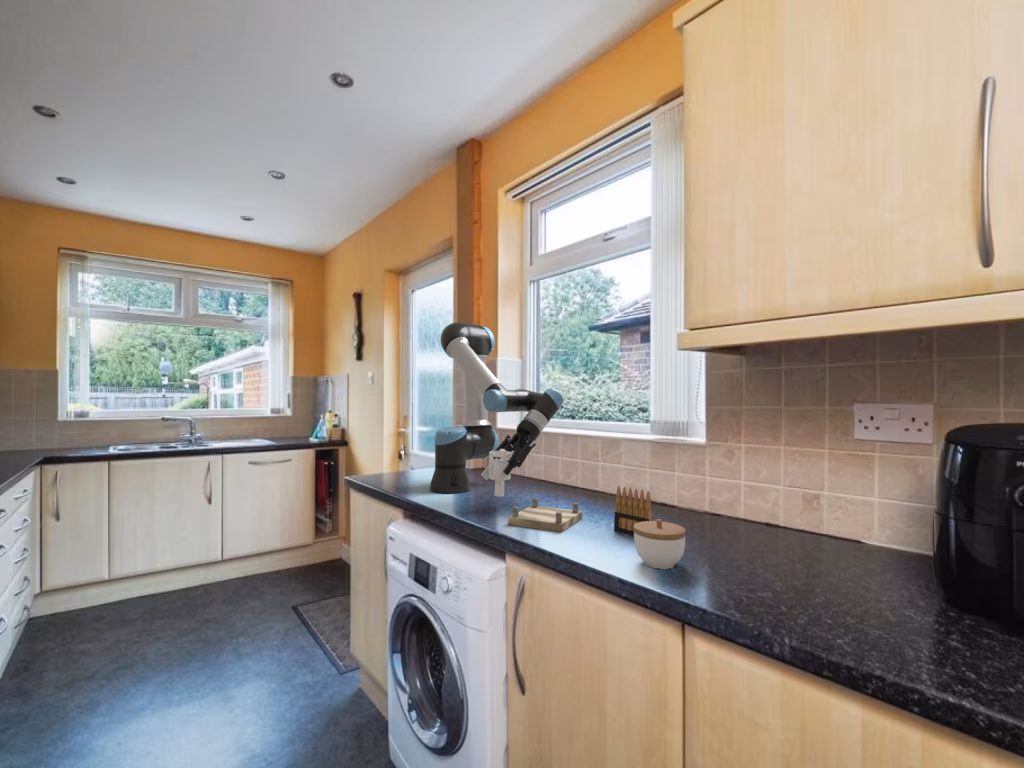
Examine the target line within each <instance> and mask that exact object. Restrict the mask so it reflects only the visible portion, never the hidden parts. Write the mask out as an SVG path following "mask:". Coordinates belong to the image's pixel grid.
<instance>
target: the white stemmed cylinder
mask: <svg viewBox="0 0 1024 768" xmlns="http://www.w3.org/2000/svg"><path fill="white" fill-rule="evenodd" d="M493 457H501V459H498V458H495V460H493ZM511 457H512V451H511V452H509V451H506V450H504V449H500V450H499V451H490V452H489V457H488V459H489V460H488V465H489V478H488V480H492V481H494V497H499V498H500V497H504V496H505V481H509V480H511V478H512V477H511V474H512V473H511V472H512V471H511V472H510V473H509V474H508V475H507V476H506V478H505V479H504V480H503V482H502V483H501V484H499V483H498V482H497V481H496V480H495V479H494V478H495V477H496V475H497V474H498V473H499V472H500V470H501V469H502V468H503V466H504V465H505V464H506V462H507V463H509V462H508V460H510V459H511Z"/></svg>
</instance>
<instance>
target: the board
mask: <svg viewBox="0 0 1024 768" xmlns="http://www.w3.org/2000/svg"><path fill="white" fill-rule="evenodd" d="M531 500H532V505H530V506H528V507H526V508H524V509H522V510H520V511H519V506H512V514H511V515H510V516H508V517H507V523H508V525H511V526H519V527H525V528H532V529H538V530H547V531H552V532H559V533H563V532H564V531H566V530H567V529H568V528H570V527H572V526H573V525H575V524H576V523H577V522H579V521H580V520H582V519H583V511H581V510H579V502H572V509H565V508H557V507H548V506H541V505H539V503H538V501H539V499H538V497H533V498H532V499H531Z"/></svg>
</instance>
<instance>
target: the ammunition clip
mask: <svg viewBox="0 0 1024 768" xmlns="http://www.w3.org/2000/svg"><path fill="white" fill-rule="evenodd" d="M626 488H627V487H626V486H624V487H623V488H622V490H621V487H620V485H617V489H616V496H615V497H616V498H615V511H614V520H613V521H614V524H613V531H614V532H618V533H621V534H625V535H629V536H632V537H634V530H633V526H634V524H636V523H638V522H643V521H654V519H653V517H652V515H653V514H652V503H651V501H652V500H651V499H652V498H651V494H650V490H647V492H646V496H645V492H644V489H641V490H640V493H639V491H638V489H637V488H635V490H634V493H633V489H632V487H629V489H628V492H627V489H626ZM627 493H628V494H627Z"/></svg>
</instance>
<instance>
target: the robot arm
mask: <svg viewBox="0 0 1024 768" xmlns="http://www.w3.org/2000/svg"><path fill="white" fill-rule="evenodd" d="M494 337H495V336H494V334H493V332H492V331H491V329H489V327H487V326H483V325H480V324H472V323H471V324H470V323H463V322H459V321H458V322H452V323H450V324H447V325H446V326H445V327H444V328H443V330H442V332H441V334H440V346H441V347H442V350H443V351H444V353H445V354H446V355H447V356H448V358H451V359H454V361H455V362H456V364H457V365H458V366H459V367H460V368H461V369H462V372H464V378H465V380H464V382H465V383H464V385H465V406H466V407H465V410H466V411H465V412H466V414H465V415H466V422H465V423H463V425H462V426H452V427H450V426H449V427H445V428H441V429H438V430H437V432H436V433H435V437H434V438H435V439H434V446H435V448H434V465H435V466H434V470H433V474H432V478H431V481H430V484H429V490H430V492H433V493H438V494H459V493H460V494H461V493H466V492H469V491H470V490H471V481H470V478H469V475H468V471H467V467H466V466H467V461H470V460H477V459H478V460H479V459H480V460H483V459H486V458H489V452H490V451H499V450H500V449H504V450H506V451H509V452H511V459H510V460H508V462H509V463H507V462H506V461H505V462H506V464H505V465H504V466H503V468H502V469H501V470H500V472H499V473H498V474H497V475H496V477H495V478H494V479H495V480H496V481H497V482H498V483H499V484H501V483H502V482H503V480H504V479H505V478H506V476H507V475H508V474H509V473H510V472H512V471H513V469H515V468H516V467H517V468H521V466H522V465H523V463H524V462H525V460H526V458H527V457H528V456H529V454H530V452H531V451H532V450H533V448H535V447H536V445H537V444H536V443H535V441H536V439H537V438H538V437H539V436H540V434H541V433H542V432H543V430H544V429H545V427H546V426H547V425H548V424H549V422H550V421H551V419H552V418H553V417H554V416H555V415H556V413H558V411H559V410H560V409H561V407H562V405H563V403H564V401H565V400H564V399H565V398H564V396H563V394H562V393H561V392H560V391H558V389H555V388H552V387H549V388H547V389H546V390H545V391H544V392H537V391H531V390H527V389H525V388H524V389H523V388H515V389H506V387H504V385H503V384H502V383H501V382H500V381H499V379H498V378H497V377H496V376H495V374H494V373H493V372H492V371H491V370H490V368H488V367H487V365H486V363H487V360H488V359H489V358H490V354H491V353H492V352H493V350H494V348H495V338H494ZM489 412H493V413H506V412H508V413H509V412H527V414H525V416H524V417H523V419H522V420H521V421H520V422H519V423H518V425H517V426H516V433H514V434H513V435H512V436H511V435H509V434H507V435H506V436H505V438H504V440H503V441H502V442H501V443H500V442H499V435H498V433H497V431H496V430H495V429H494V428H493V424H492V422H490V421H489V415H488V413H489ZM499 443H500V444H499ZM512 452H513V453H512ZM495 458H498V459H501V457H493V460H495ZM480 476H482V477H483V478H484V480H485V481H488V480H489V464H487V466H486V467H485V469H484V470H483V471H482V472H481V474H480ZM495 480H494V481H495ZM504 481H505V480H504Z"/></svg>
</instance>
